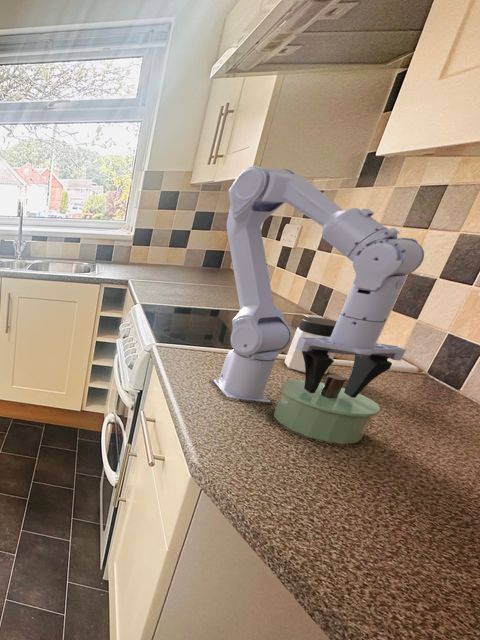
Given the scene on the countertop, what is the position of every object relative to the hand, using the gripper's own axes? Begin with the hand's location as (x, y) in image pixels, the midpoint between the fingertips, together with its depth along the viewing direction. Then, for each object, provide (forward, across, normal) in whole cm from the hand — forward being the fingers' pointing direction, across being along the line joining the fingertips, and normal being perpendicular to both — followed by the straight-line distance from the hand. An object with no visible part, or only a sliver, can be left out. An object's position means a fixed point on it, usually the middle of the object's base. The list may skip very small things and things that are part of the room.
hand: (329, 393), depth 73 cm
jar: (+7, +14, +34) cm, 37 cm away
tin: (+7, 0, 0) cm, 7 cm away
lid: (+1, 0, 0) cm, 1 cm away
